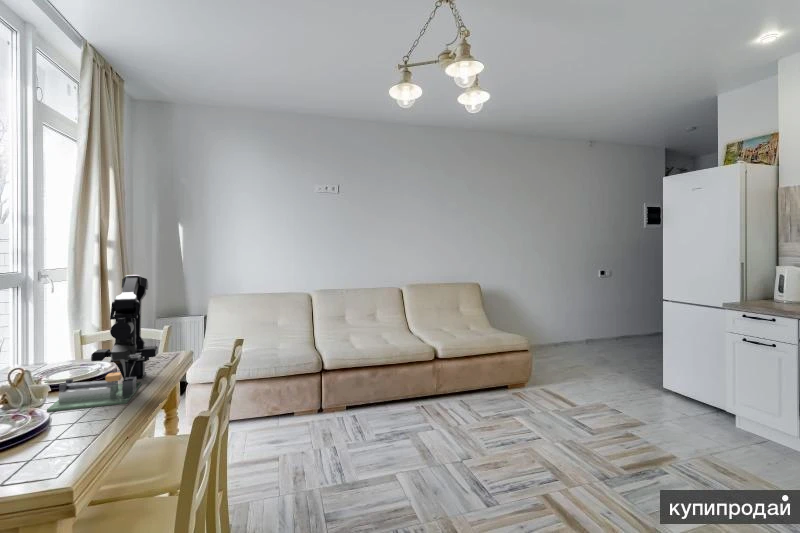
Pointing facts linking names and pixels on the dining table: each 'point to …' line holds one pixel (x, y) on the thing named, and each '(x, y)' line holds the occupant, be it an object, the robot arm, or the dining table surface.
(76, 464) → the dining table surface
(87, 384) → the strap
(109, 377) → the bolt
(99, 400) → the green flat square base
